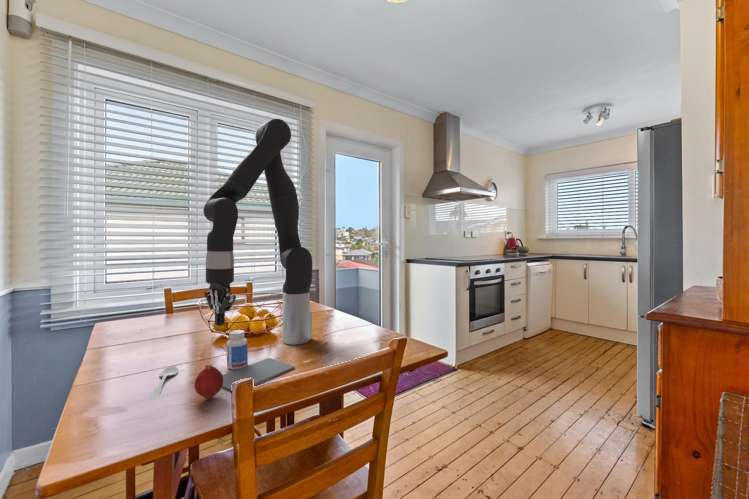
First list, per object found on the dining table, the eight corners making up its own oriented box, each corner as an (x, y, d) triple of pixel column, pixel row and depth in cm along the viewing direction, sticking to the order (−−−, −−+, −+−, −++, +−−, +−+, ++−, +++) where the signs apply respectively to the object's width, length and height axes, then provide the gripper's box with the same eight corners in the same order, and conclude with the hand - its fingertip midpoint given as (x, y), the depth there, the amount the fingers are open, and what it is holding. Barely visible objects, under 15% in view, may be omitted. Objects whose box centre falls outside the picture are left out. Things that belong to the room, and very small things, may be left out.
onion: (201, 392, 76) (201, 359, 76) (227, 392, 77) (226, 358, 76) (190, 405, 70) (189, 369, 70) (217, 404, 71) (217, 368, 71)
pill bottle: (251, 363, 94) (251, 330, 93) (238, 371, 89) (238, 335, 88) (236, 361, 96) (236, 328, 95) (222, 368, 90) (222, 333, 90)
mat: (268, 359, 97) (268, 357, 97) (294, 368, 91) (294, 366, 91) (209, 382, 82) (209, 379, 82) (236, 394, 76) (236, 391, 76)
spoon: (181, 370, 90) (180, 364, 90) (159, 407, 71) (159, 399, 71) (163, 371, 89) (163, 366, 89) (136, 410, 69) (136, 402, 69)
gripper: (245, 267, 95) (244, 326, 95) (219, 264, 102) (219, 319, 103) (220, 269, 89) (220, 332, 89) (195, 265, 96) (195, 324, 97)
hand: (219, 325), depth 96 cm, fingers closed
